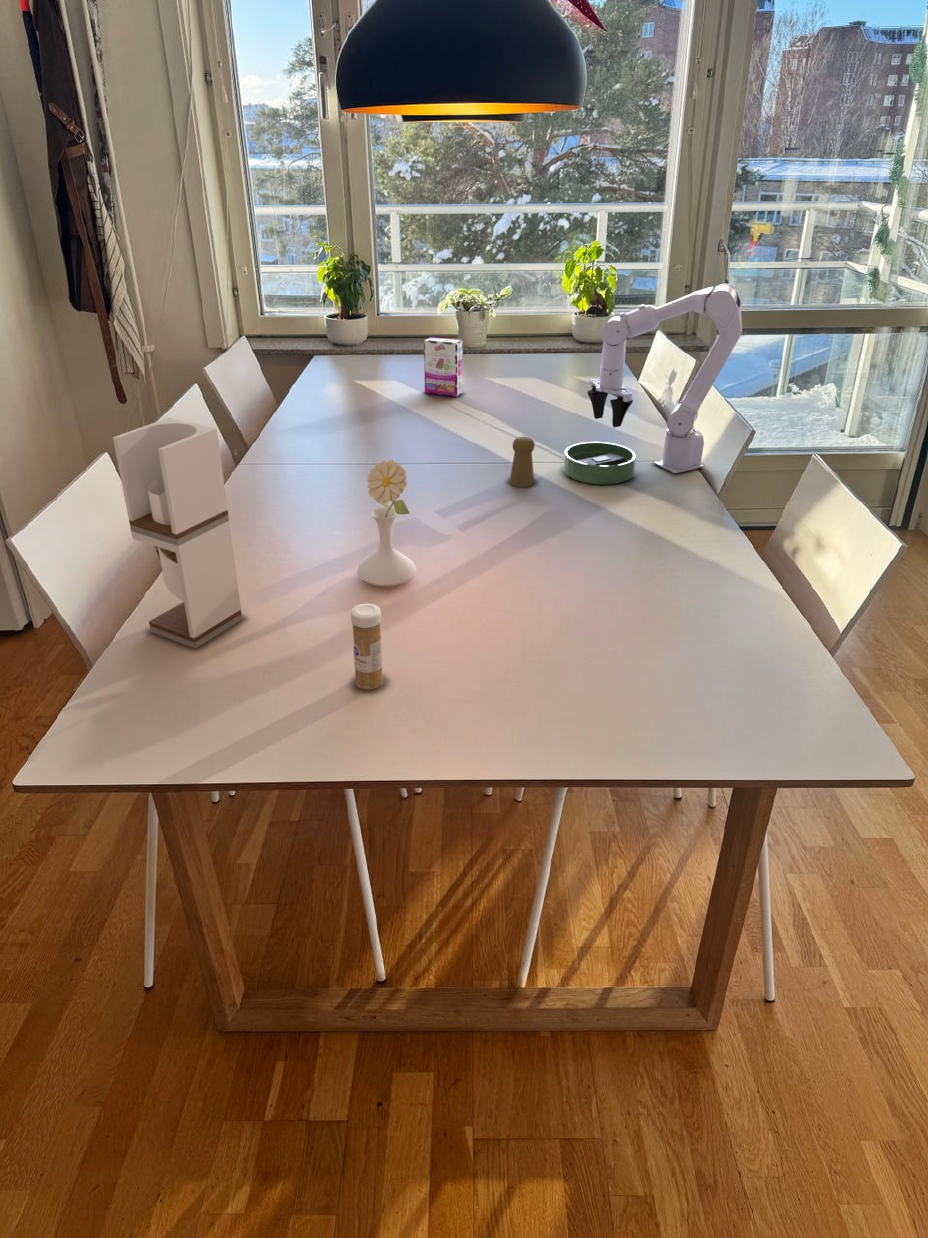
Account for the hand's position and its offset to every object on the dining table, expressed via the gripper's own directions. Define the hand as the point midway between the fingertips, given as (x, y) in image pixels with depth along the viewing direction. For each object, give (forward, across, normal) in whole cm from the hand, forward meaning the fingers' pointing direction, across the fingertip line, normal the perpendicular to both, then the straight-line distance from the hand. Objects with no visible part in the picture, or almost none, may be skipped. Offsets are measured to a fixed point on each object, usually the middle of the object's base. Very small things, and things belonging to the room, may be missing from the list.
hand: (607, 422), depth 228 cm
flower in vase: (+10, +34, -78) cm, 86 cm away
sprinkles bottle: (+10, +64, -96) cm, 116 cm away
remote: (+9, +8, -8) cm, 14 cm away
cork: (+10, +4, -28) cm, 30 cm away
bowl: (+9, +8, -8) cm, 15 cm away
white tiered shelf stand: (+10, +33, -115) cm, 120 cm away
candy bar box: (+10, -70, -9) cm, 71 cm away
